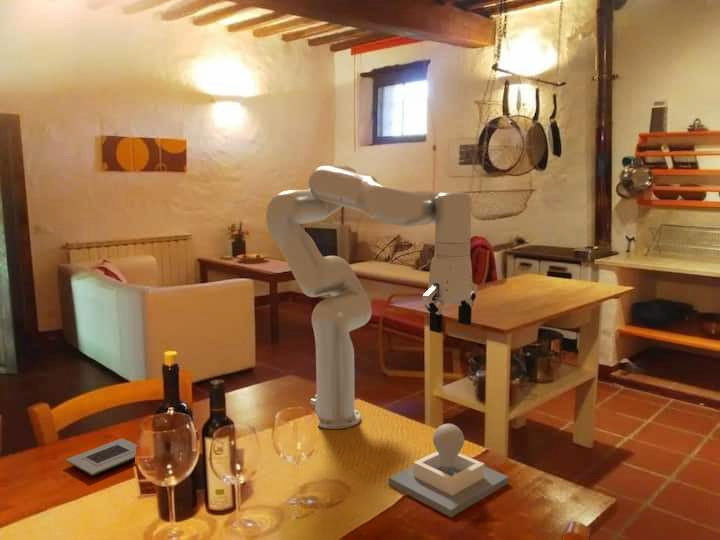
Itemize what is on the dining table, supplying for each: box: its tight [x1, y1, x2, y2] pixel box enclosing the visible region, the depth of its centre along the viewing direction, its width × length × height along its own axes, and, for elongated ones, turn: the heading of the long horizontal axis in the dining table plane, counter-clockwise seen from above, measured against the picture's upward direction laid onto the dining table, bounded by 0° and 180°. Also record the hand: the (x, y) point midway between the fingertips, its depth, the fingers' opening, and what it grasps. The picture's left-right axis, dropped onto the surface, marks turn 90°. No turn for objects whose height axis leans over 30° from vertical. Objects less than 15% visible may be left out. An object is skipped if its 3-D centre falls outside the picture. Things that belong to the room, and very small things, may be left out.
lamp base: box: [388, 450, 509, 518], centre depth 121 cm, size 16×18×4 cm
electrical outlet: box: [65, 438, 137, 477], centre depth 131 cm, size 13×10×2 cm
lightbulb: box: [432, 423, 465, 476], centre depth 120 cm, size 6×6×11 cm
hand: (450, 327), depth 132 cm, fingers open, 9 cm apart
